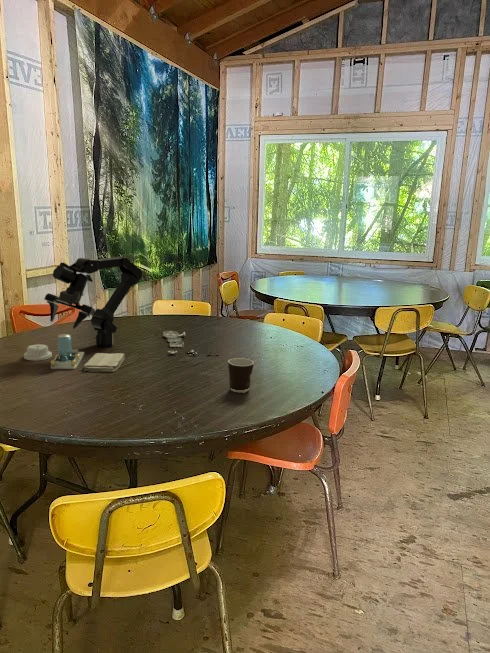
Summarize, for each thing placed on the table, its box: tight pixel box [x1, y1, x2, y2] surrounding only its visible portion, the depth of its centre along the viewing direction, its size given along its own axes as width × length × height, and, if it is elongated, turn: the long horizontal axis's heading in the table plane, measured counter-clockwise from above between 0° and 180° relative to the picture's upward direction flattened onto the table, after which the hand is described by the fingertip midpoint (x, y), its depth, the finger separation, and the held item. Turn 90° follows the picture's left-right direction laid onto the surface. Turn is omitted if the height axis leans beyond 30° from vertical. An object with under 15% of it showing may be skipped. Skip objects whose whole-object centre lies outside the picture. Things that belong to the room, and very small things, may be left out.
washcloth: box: [83, 352, 126, 373], centre depth 174 cm, size 12×18×3 cm, turn 3°
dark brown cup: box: [227, 357, 255, 390], centre depth 156 cm, size 12×9×10 cm
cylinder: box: [57, 333, 73, 361], centre depth 170 cm, size 5×5×10 cm
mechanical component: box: [23, 343, 53, 361], centre depth 179 cm, size 10×4×10 cm
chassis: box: [50, 348, 85, 370], centre depth 175 cm, size 8×18×3 cm, turn 9°
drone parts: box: [162, 330, 198, 356], centre depth 207 cm, size 23×35×3 cm, turn 12°
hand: (62, 325), depth 180 cm, fingers open, 9 cm apart
